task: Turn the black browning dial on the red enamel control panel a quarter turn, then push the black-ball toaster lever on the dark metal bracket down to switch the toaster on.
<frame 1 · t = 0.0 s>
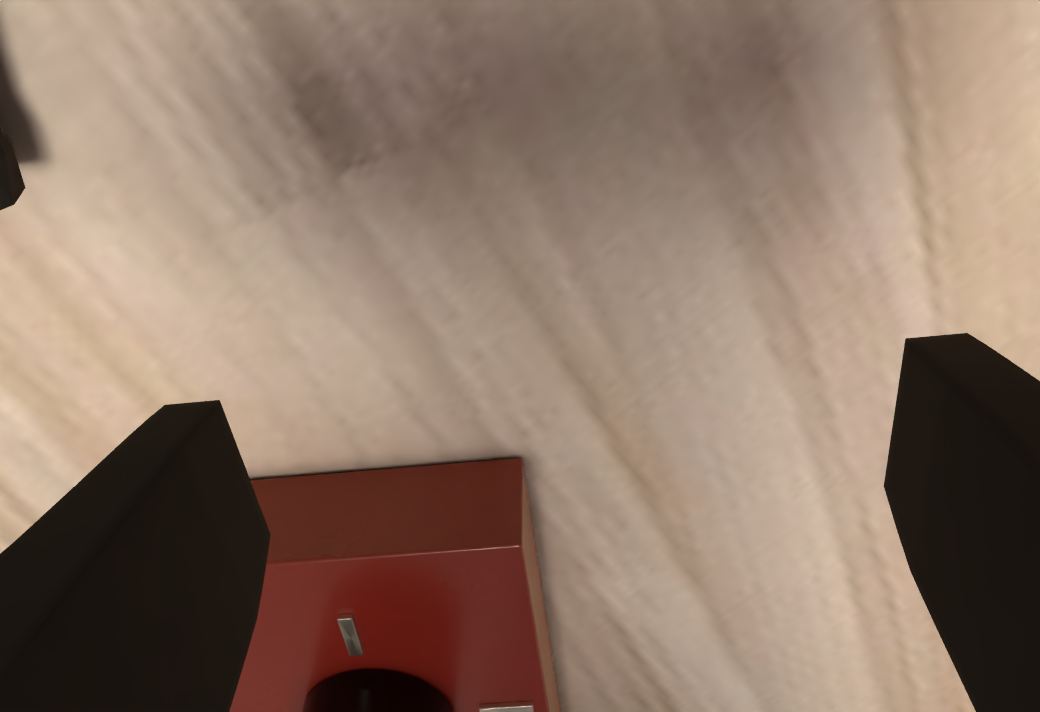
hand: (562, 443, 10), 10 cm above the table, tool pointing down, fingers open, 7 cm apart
dial panel: (392, 622, 27), on the table
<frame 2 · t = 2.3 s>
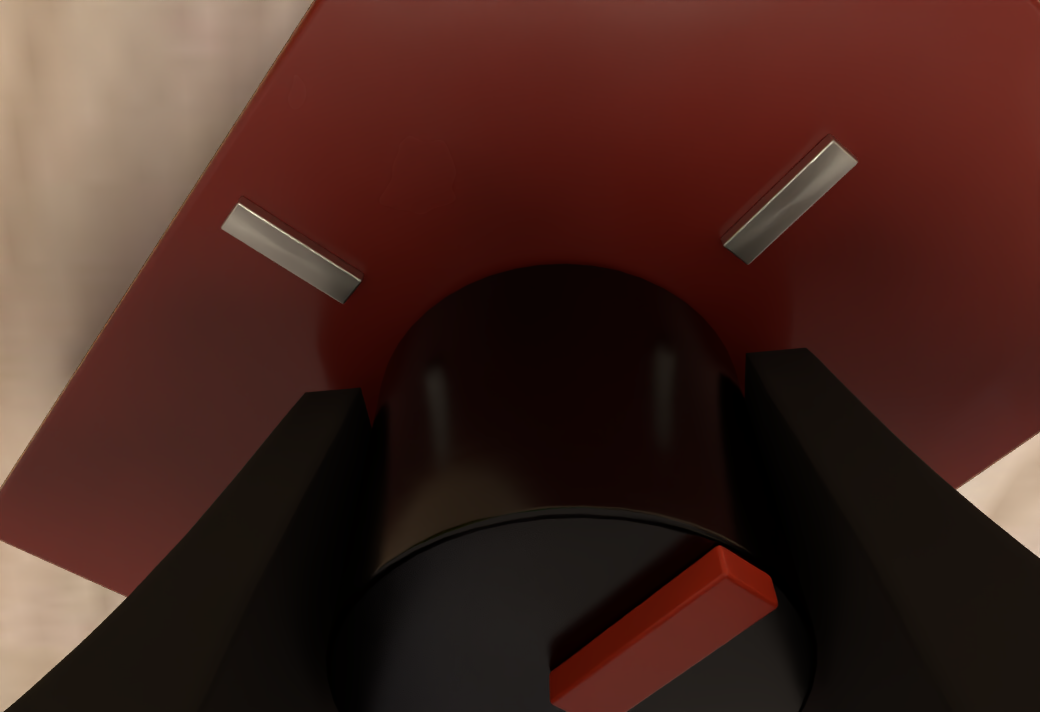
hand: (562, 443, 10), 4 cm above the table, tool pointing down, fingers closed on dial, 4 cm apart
dial: (564, 542, 9), point 5 cm above the table, hinge at 0.0°, touching gripper
dial panel: (552, 277, 13), on the table
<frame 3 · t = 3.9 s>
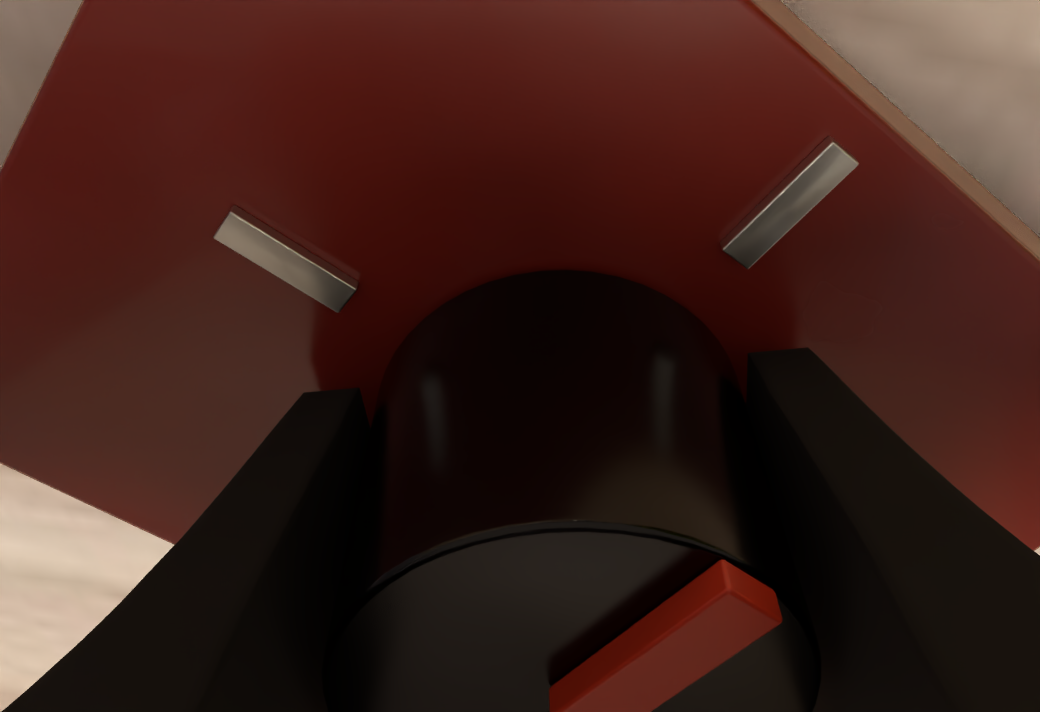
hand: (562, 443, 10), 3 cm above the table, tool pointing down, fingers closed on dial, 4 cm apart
dial: (563, 552, 9), point 5 cm above the table, hinge at 89.2°, touching gripper
dial panel: (551, 281, 13), on the table
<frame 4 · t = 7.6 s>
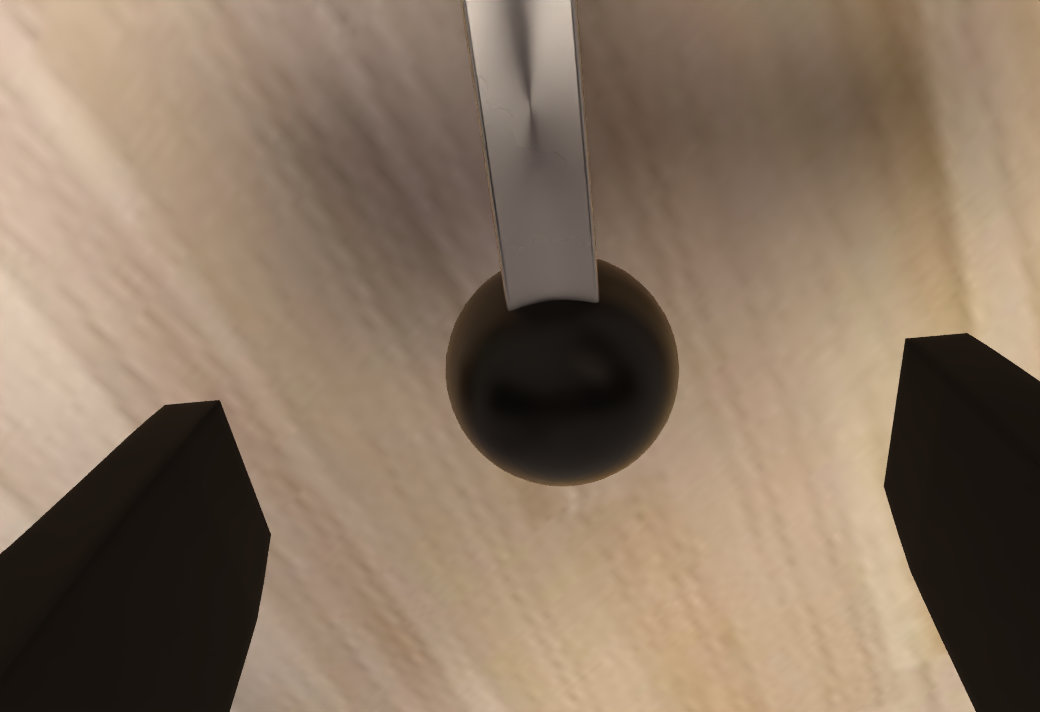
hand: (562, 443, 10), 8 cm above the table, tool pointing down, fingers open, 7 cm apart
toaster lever: (522, 24, 10), point 6 cm above the table, hinge at -1.7°
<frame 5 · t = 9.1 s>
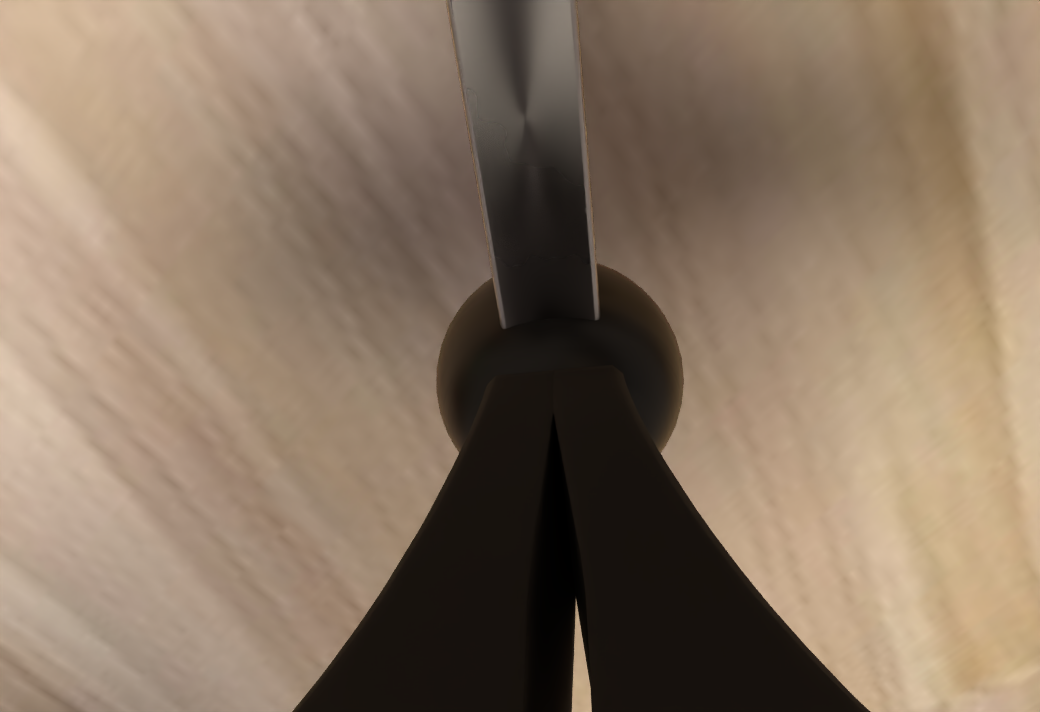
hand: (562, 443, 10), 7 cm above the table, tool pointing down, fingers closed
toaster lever: (516, 27, 9), point 6 cm above the table, hinge at -6.6°
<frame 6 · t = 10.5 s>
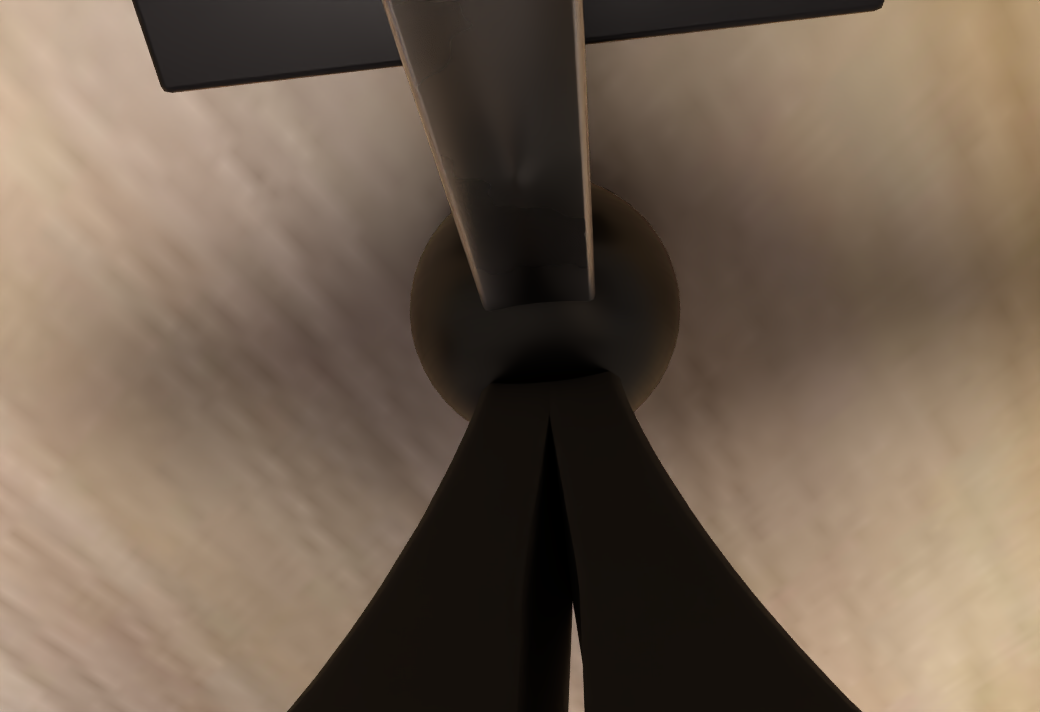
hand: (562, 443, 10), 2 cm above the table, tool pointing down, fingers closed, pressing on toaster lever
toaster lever: (500, 60, 6), point 4 cm above the table, hinge at -35.4°, touching gripper
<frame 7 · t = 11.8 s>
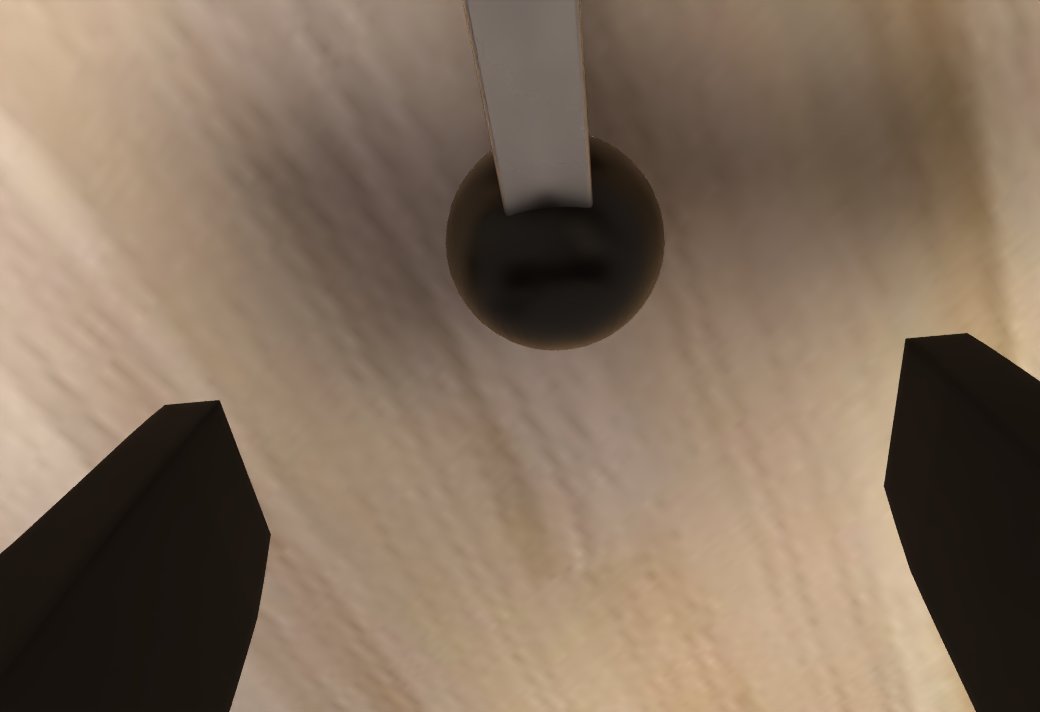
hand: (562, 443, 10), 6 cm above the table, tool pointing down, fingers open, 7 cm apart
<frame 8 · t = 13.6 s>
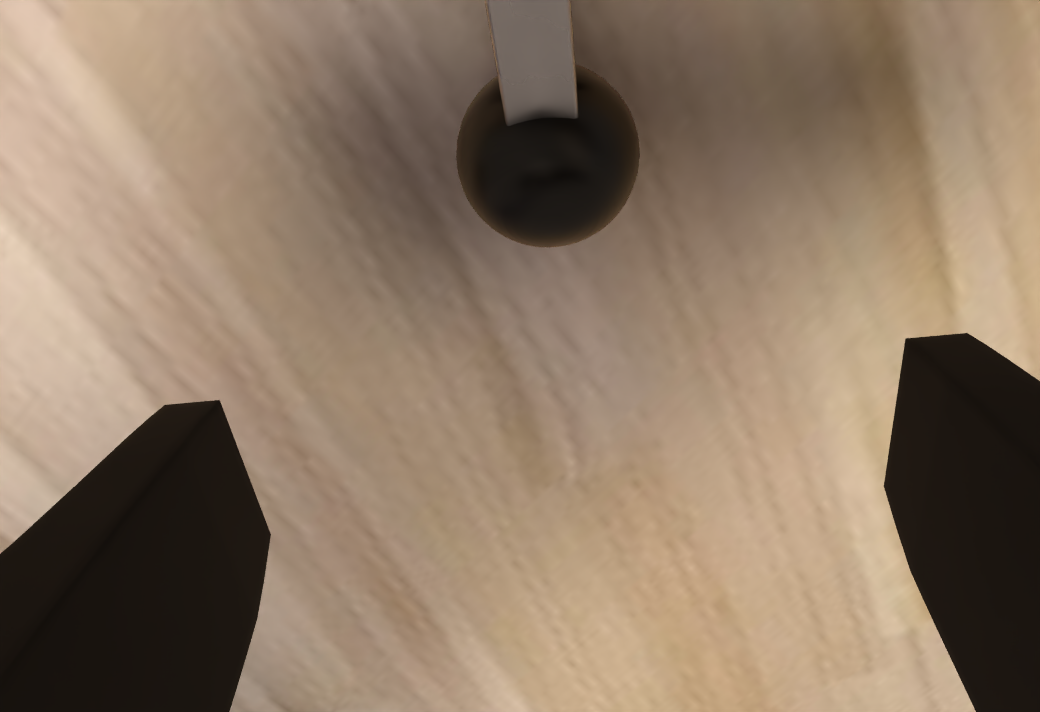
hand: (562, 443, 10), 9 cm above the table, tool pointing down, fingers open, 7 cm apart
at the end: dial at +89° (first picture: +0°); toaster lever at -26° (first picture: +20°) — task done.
